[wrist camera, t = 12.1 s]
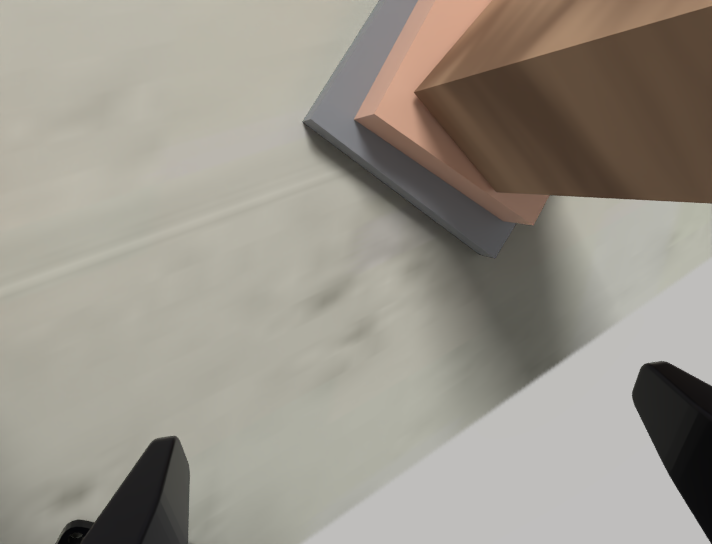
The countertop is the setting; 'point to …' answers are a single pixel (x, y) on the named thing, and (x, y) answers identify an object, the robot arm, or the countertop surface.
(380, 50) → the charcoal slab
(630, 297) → the countertop surface
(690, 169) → the walnut pillar
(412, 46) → the terracotta tile
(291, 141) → the countertop surface
